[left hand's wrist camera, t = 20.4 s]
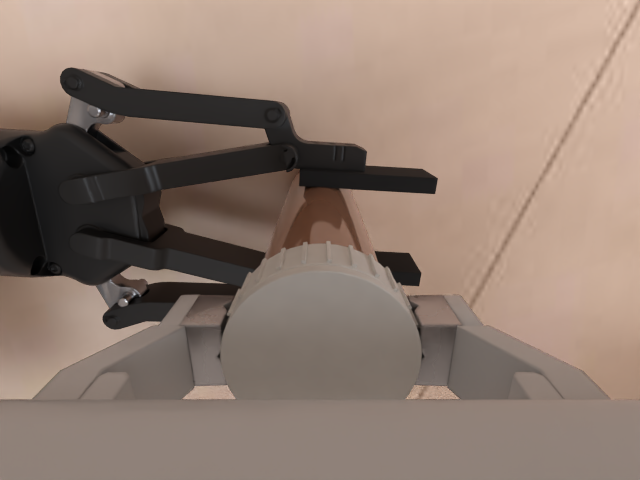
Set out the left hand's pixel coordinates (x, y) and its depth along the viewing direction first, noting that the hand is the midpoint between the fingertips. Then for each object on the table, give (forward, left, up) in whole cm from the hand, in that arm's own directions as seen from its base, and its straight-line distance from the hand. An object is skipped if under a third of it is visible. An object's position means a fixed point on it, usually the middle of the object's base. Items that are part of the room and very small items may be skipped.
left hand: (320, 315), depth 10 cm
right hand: (-5, +3, -9) cm, 11 cm away
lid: (0, 0, +2) cm, 2 cm away
